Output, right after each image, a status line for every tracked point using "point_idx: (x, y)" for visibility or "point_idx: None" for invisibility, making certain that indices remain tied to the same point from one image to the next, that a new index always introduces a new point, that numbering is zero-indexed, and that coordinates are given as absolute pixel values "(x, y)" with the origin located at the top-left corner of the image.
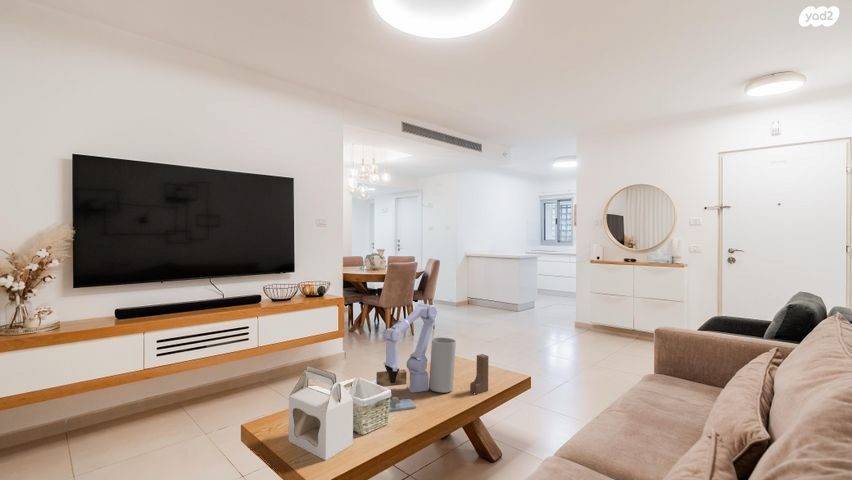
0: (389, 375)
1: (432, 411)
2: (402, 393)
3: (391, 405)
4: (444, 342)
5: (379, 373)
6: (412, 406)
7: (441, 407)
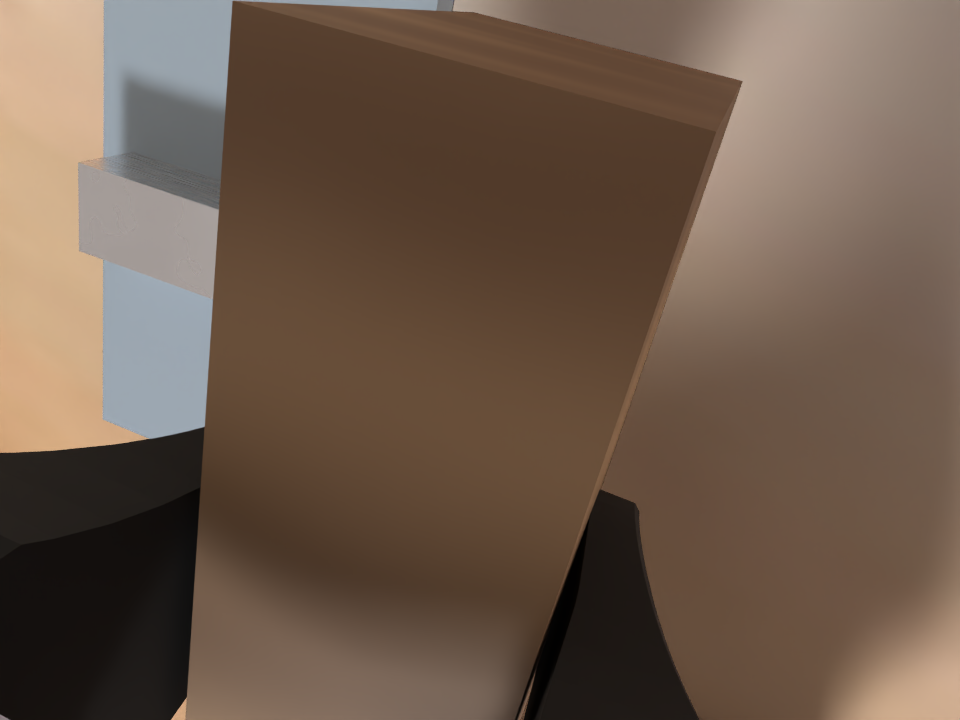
0: (142, 453)
1: None
2: (665, 587)
3: None
4: None
5: (401, 174)
6: (109, 383)
7: None
